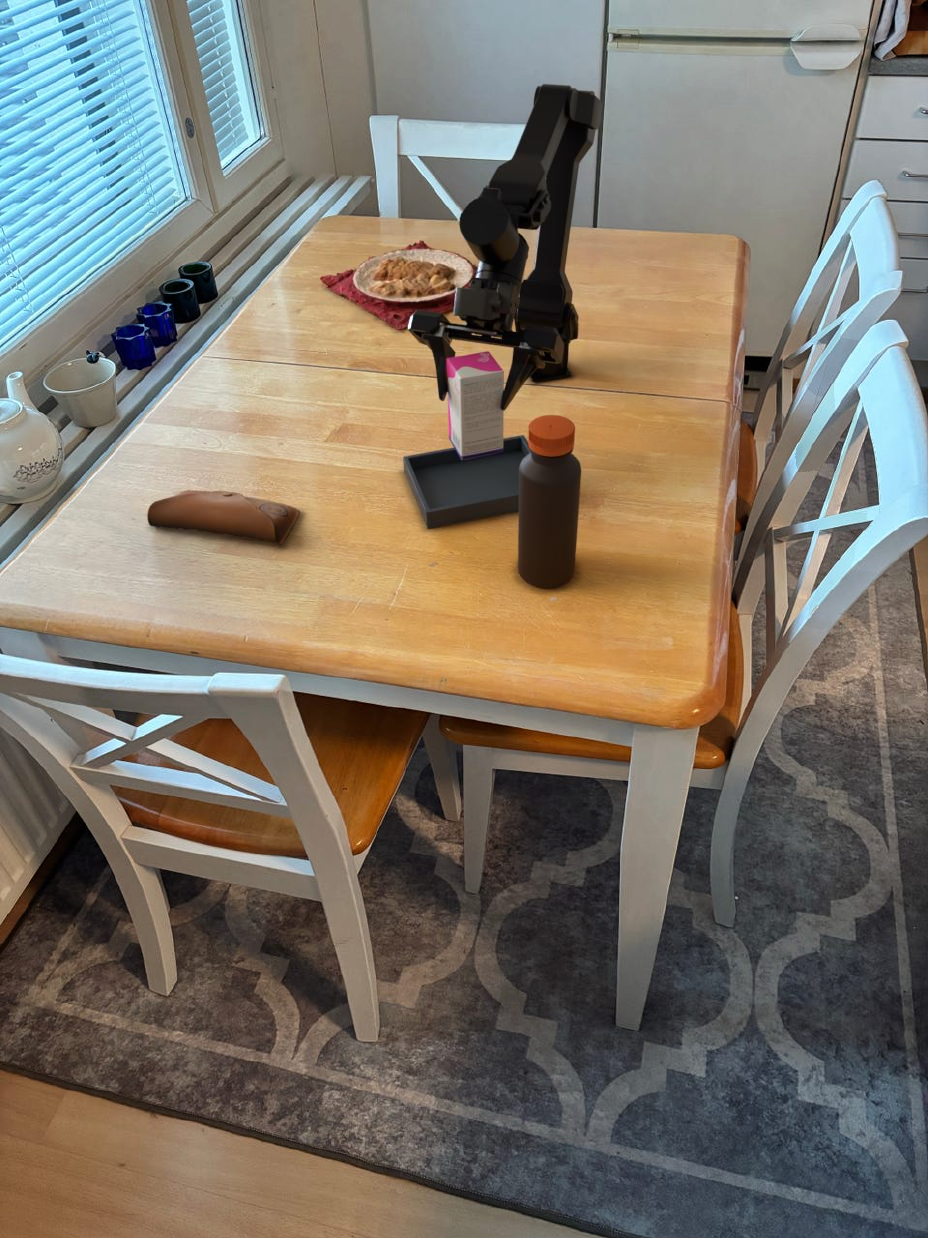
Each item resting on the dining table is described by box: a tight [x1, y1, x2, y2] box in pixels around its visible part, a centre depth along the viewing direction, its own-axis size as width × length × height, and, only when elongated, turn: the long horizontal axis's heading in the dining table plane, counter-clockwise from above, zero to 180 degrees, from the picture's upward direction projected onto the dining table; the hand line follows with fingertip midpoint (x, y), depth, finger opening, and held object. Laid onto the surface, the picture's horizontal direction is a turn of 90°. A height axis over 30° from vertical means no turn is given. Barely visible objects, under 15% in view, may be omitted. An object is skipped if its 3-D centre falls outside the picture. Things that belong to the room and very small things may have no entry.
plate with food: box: [319, 239, 478, 330], centre depth 171 cm, size 24×26×3 cm
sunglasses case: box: [146, 489, 301, 545], centre depth 121 cm, size 18×7×7 cm
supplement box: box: [447, 350, 505, 460], centre depth 118 cm, size 6×6×12 cm
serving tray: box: [402, 434, 530, 530], centre depth 125 cm, size 17×13×3 cm
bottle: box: [517, 414, 582, 589], centre depth 106 cm, size 7×7×20 cm
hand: (471, 404), depth 116 cm, fingers closed on supplement box, 7 cm apart
